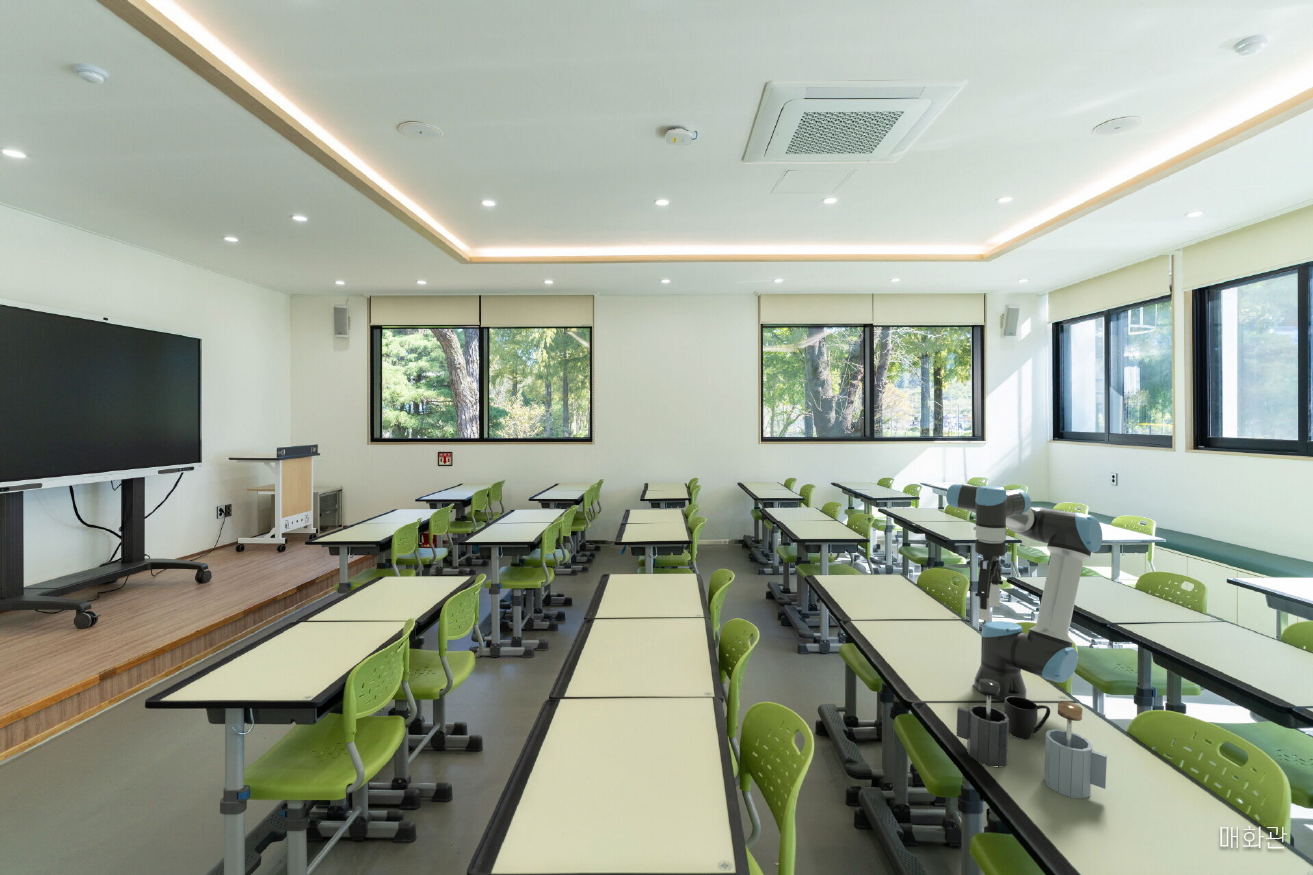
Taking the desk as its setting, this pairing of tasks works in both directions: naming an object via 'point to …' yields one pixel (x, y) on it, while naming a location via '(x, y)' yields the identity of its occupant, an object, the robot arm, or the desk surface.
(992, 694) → the black press plunger
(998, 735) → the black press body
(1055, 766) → the cup
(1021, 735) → the mug
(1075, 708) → the stone press plunger
